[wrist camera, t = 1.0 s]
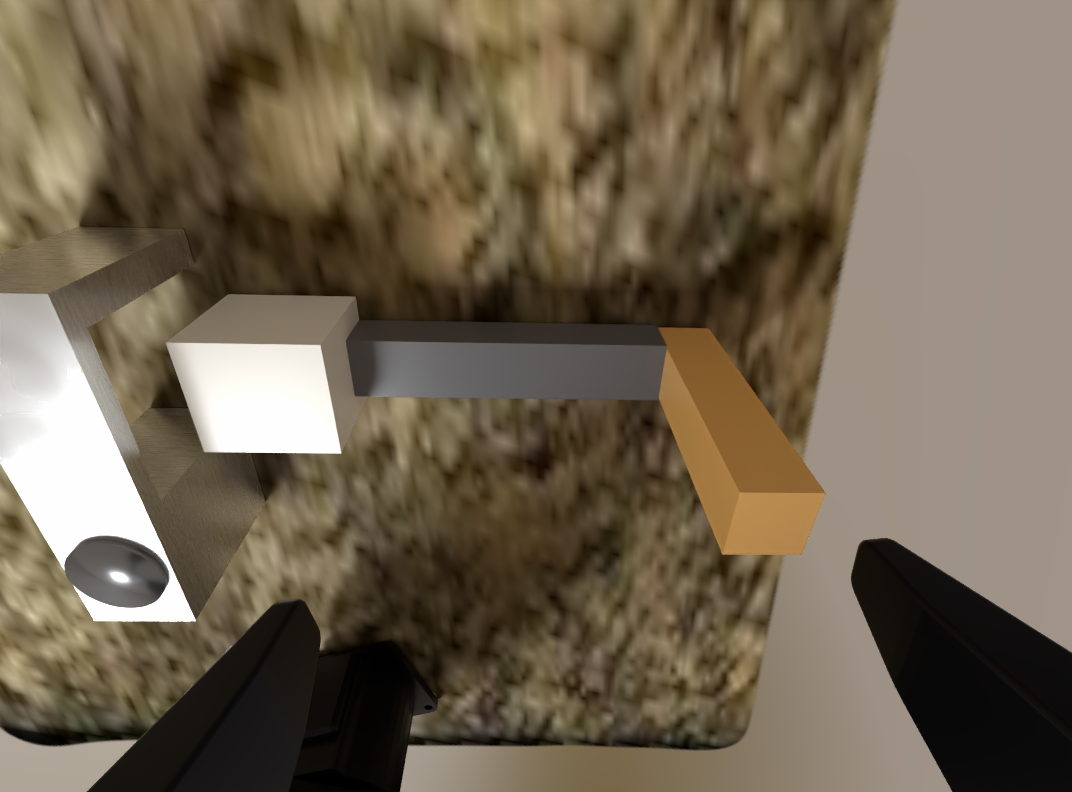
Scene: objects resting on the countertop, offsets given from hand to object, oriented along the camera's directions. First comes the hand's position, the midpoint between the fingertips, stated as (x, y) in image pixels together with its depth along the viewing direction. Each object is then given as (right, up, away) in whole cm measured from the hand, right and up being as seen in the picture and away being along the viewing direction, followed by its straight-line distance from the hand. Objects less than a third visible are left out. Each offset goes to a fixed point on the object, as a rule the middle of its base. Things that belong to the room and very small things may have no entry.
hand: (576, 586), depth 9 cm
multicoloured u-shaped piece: (-3, +5, +12) cm, 13 cm away
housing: (-15, +4, +13) cm, 20 cm away
